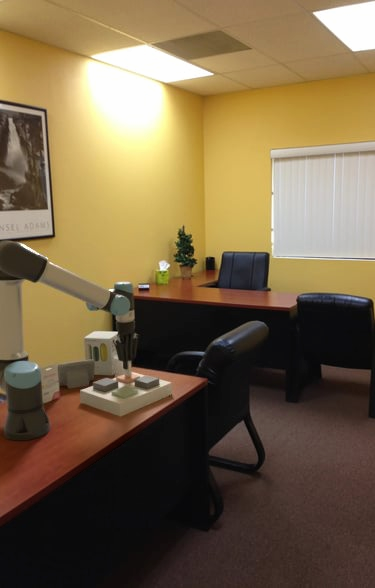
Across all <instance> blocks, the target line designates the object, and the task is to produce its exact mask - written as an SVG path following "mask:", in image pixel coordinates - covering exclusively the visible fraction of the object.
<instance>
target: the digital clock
mask: <svg viewBox="0 0 375 588" xmlns="http://www.w3.org/2000/svg"><path fill="white" fill-rule="evenodd" d="M94 368H95V361H94V360H92V359H90V360H85V359H84V360H77V361H70V362H64V363H59V364H57V370H58V380H59V387H61V386H67V388H68V389H75V388H81V387H87V386H90V382H94V380H95V375H94Z"/></svg>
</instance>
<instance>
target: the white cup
mask: <svg viewBox="0 0 375 588" xmlns="http://www.w3.org/2000/svg"><path fill="white" fill-rule="evenodd" d="M113 365H114V372H115V374H114V378H116V377H118V376H121V375H124V374H125V373H124V369H123V361H119V359H118V355H115V356H113Z"/></svg>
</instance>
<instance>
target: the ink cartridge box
mask: <svg viewBox="0 0 375 588" xmlns="http://www.w3.org/2000/svg"><path fill="white" fill-rule="evenodd" d="M57 367H58V364H57V362H54V363H51V364H47V365H45V366H42V367H40V372H41V384H42V398H43V405H44V404H47V403H49V402H51V401H54V400H56V399H59V398H60V397H61V394H60V385H59V380H58V370H57Z"/></svg>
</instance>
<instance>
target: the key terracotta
mask: <svg viewBox="0 0 375 588" xmlns="http://www.w3.org/2000/svg"><path fill="white" fill-rule="evenodd" d="M138 378H140V376H138V375H134V374H132V376H131V377H127V376H125V374H124V375H121V376H118V377H116V381H119V382H122V383H126V384H129V383H132V382H134V380H135V379H138Z"/></svg>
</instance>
